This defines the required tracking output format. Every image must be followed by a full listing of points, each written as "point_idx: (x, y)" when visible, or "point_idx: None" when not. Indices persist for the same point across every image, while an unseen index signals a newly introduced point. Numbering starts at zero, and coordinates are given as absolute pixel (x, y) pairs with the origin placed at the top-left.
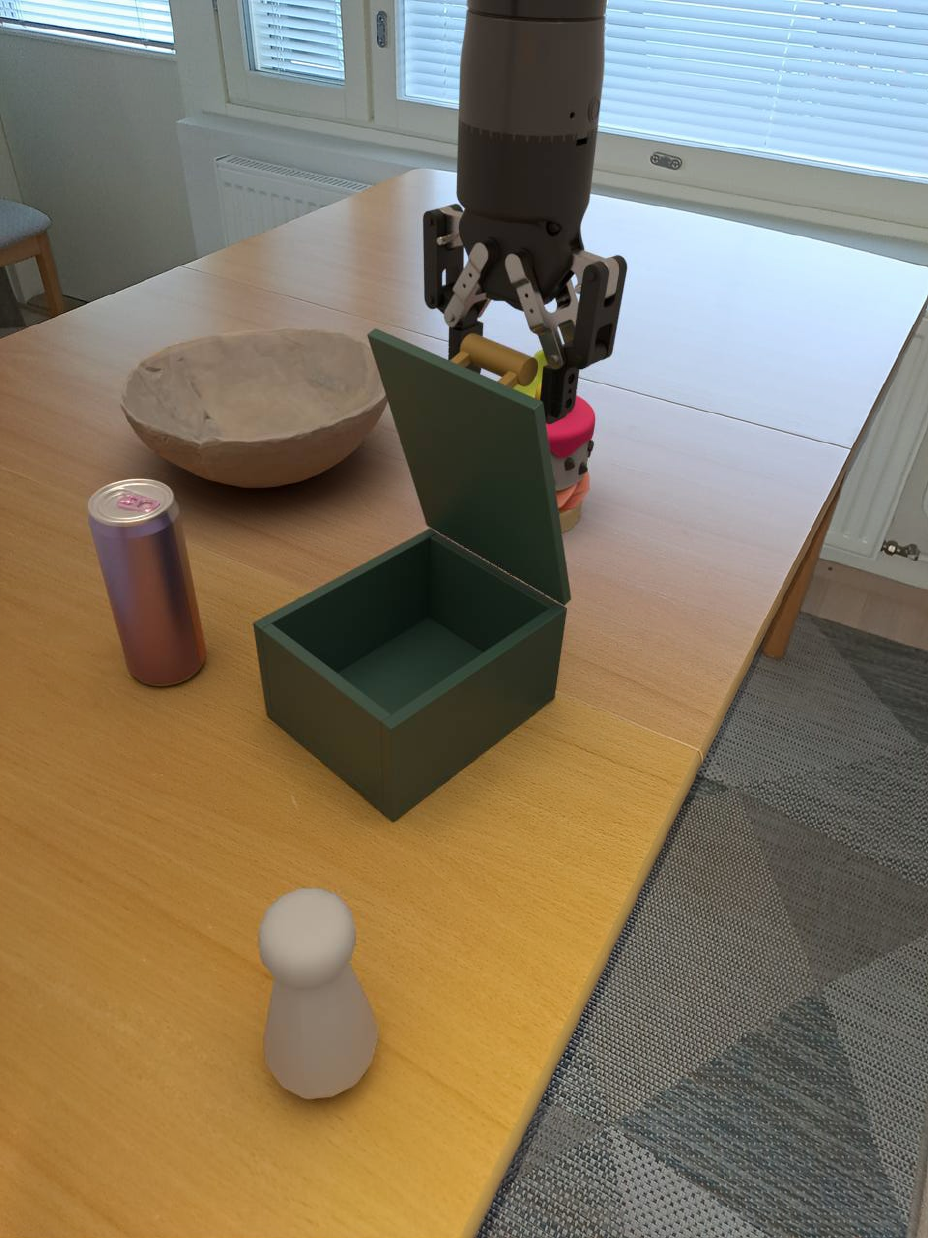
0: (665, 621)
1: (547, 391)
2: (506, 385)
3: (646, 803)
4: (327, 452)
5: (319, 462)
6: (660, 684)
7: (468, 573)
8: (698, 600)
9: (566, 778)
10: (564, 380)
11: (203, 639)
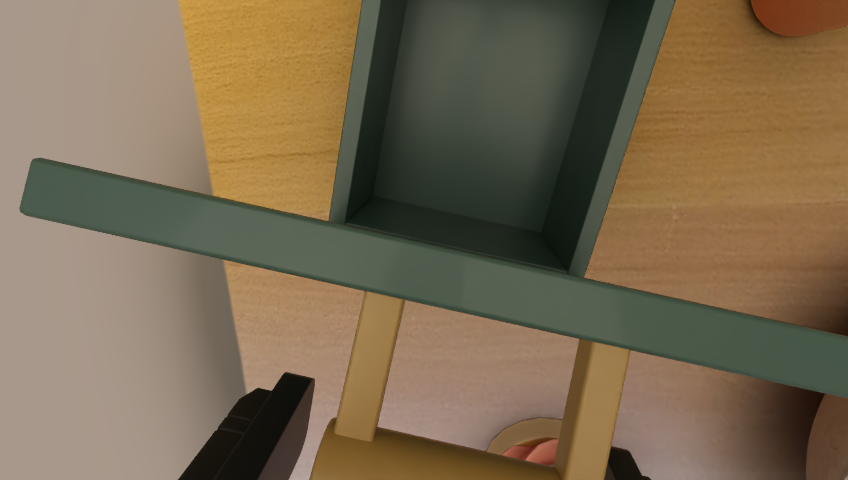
0: (325, 367)
1: (255, 426)
2: (348, 373)
3: (218, 123)
4: (839, 404)
5: None
6: (285, 279)
7: (488, 247)
8: (313, 413)
9: (294, 107)
10: (187, 469)
11: (774, 13)
